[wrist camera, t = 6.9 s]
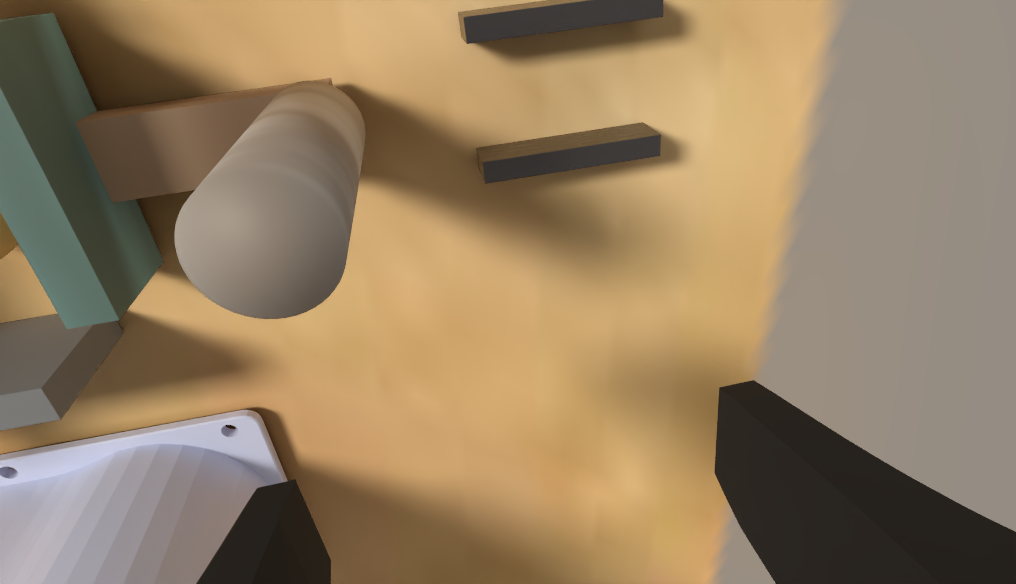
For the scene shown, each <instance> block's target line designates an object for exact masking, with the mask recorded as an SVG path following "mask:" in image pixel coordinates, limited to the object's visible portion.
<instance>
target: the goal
mask: <svg viewBox="0 0 1016 584" xmlns="http://www.w3.org/2000/svg"><path fill="white" fill-rule="evenodd" d="M122 334H123V331H122V329H121V327H120V326H119V324H118V322H117V321H112V322H106V323H100V324H94V325H88V326H82V327H76V328H71V329H67V328H66V327H65V325H64V323H63V321H62V320H61V318H60V316H59V314H53V315H48V316H42V317H36V318H30V319H24V320H18V321H12V322H6V323H0V431H1V430H7V429H12V428H18V427H23V426H29V425H34V424H40V423H45V422H51V421H56V420H61V419H62V417H63V416H64V415H65V413H66V412H67V410H68V409H69V408H70V406H71V405H72V403H73V402H74V401H75V399H76V398H77V397H78V395H79V394H80V392H81V391H82V390H83V388H84V387H85V385H86V384H87V383H88V381H89V380H90V378H91V377H92V376H93V374H94V373H95V372H96V370H97V369H98V367H99V366H100V365H101V363H102V362H103V360H104V359H105V358H106V356H107V355H108V353H109V352H110V351H111V349H112V348H113V347H114V345H115V344H116V342H117V341H118V340H119V338H120V337H121V335H122Z"/></svg>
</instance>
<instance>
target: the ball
mask: <svg viewBox="0 0 1016 584" xmlns="http://www.w3.org/2000/svg"><path fill="white" fill-rule="evenodd" d="M17 244H18V242H17V241H16V239H15V237H14V235H13V234H12V232H11V230H10V228H9V226H8V225H7V223H6V221H5V219H4V218H3V216H2V214H1V212H0V259H2V258H3V257H5V256H6V255H7V254H8V253H9V252H10V251H11V250H13V249H14V247H15V246H16V245H17Z"/></svg>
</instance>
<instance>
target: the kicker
mask: <svg viewBox="0 0 1016 584" xmlns="http://www.w3.org/2000/svg"><path fill="white" fill-rule="evenodd" d="M365 141H366V128H365V123H364V120H363V117H362V114H361V112H360V110H359V109H358V107H357V105H356V104H355V103H354V102H353V100H352V99H351V98H350V97H349V96H348V95H346V94H345V93H344V92H343V91H341V90H340V89H338V88H336V87H334V86H333V85H332V80H331V78H328V79H321V80H314V81H302V82H297V83H293V84H286V85H279V86H271V87H264V88H257V89H250V90H243V91H236V92H229V93H221V94H214V95H207V96H200V97H193V98H186V99H179V100H172V101H164V102H157V103H150V104H143V105H136V106H129V107H122V108H115V109H107V110H100V111H97V110H96V108H95V105H94V103H93V101H92V99H91V96H90V94H89V92H88V90H87V87H86V85H85V83H84V81H83V78H82V76H81V74H80V71H79V69H78V67H77V65H76V62H75V60H74V58H73V56H72V53H71V51H70V49H69V47H68V44H67V42H66V40H65V38H64V35H63V33H62V31H61V29H60V26H59V24H58V22H57V20H56V17H55V15H54V13H46V14H38V15H31V16H23V17H15V18H7V19H0V212H1V214H2V216H3V218H4V219H5V221H6V223H7V225H8V226H9V228H10V230H11V232H12V234H13V235H14V237H15V239H16V241H17V242H18V244H19V246H20V248H21V249H22V251H23V253H24V255H25V256H26V258H27V260H28V262H29V263H30V265H31V267H32V269H33V270H34V272H35V274H36V276H37V277H38V279H39V281H40V283H41V284H42V286H43V288H44V290H45V292H46V293H47V295H48V297H49V299H50V300H51V302H52V304H53V306H54V307H55V309H56V311H57V313H58V314H59V316H60V318H61V320H62V321H63V323H64V325H65V327H66V328H67V329H71V328H76V327H82V326H88V325H94V324H100V323H106V322H112V321H118V320H120V319H121V317H122V316H123V315H124V313H125V312H126V311H127V309H128V308H129V307H130V305H131V304H132V303H133V302H134V300H135V299H136V298H137V296H138V295H139V294H140V292H141V291H142V290H143V288H144V287H145V286H146V284H147V283H148V282H149V280H150V279H151V278H152V276H153V275H154V274H155V272H156V271H157V270H158V268H159V267H160V266H161V264H162V263H163V262H164V261H163V259H162V257H161V254H160V252H159V250H158V248H157V245H156V243H155V241H154V239H153V236H152V234H151V232H150V230H149V227H148V225H147V223H146V221H145V218H144V216H143V214H142V212H141V209H140V207H139V205H138V203H137V200H136V199H140V198H147V197H153V196H160V195H166V194H173V193H179V192H186V191H192V190H195V191H194V192H193V193H192V194H191V195H190V197H189V198H188V199H187V201H186V202H185V203H184V205H183V206H182V208H181V210H180V212H179V215H178V218H177V221H176V225H175V233H174V237H175V248H176V253H177V256H178V259H179V262H180V264H181V266H182V268H183V270H184V272H185V274H186V275H187V277H188V278H189V280H190V281H191V282H192V283H193V284H194V286H195V287H196V288H197V289H198V290H199V291H200V292H201V293H202V294H204V295H205V296H206V297H207V298H209V299H210V300H211V301H213V302H214V303H216V304H218V305H220V306H221V307H223V308H225V309H227V310H230V311H232V312H234V313H238V314H241V315H244V316H249V317H254V318H262V319H279V318H287V317H291V316H296V315H299V314H301V313H304V312H307V311H309V310H311V309H313V308H315V307H316V306H317V305H319V304H320V303H322V302H323V301H324V300H325V299H326V298H328V297H329V296H330V294H331V293H332V292H333V291H334V290H335V288H336V287H337V285H338V284H339V282H340V280H341V278H342V275H343V273H344V269H345V265H346V259H347V253H348V247H349V241H350V234H351V228H352V222H353V216H354V210H355V203H356V197H357V191H358V185H359V179H360V172H361V166H362V160H363V154H364V147H365Z"/></svg>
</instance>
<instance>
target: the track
mask: <svg viewBox="0 0 1016 584" xmlns="http://www.w3.org/2000/svg"><path fill="white" fill-rule="evenodd" d="M458 15H459V23H460V30H461V37H462V38H463V40H464V41H465V42H466V43H467V44H469V43H476V42H484V41H491V40H498V39H505V38H513V37H520V36H527V35H534V34H541V33H549V32H556V31H563V30H570V29H578V28H585V27H592V26H599V25H607V24H614V23H621V22H628V21H636V20H643V19H650V18H657V17H663V0H547V1H540V2H532V3H525V4H517V5H510V6H502V7H495V8H487V9H480V10H472V11H465V12H458ZM477 156H478V163H479V169H480V171H481V174H482V176H483V179H484V182H485V184H486V183H492V182H498V181H504V180H511V179H517V178H523V177H530V176H536V175H542V174H549V173H555V172H561V171H567V170H574V169H580V168H586V167H593V166H599V165H605V164H611V163H618V162H624V161H630V160H637V159H643V158H649V157H655V156H660V134H659V133H657V132H656V131H654V130H653V129H651V128H650V127H648V126H647V125H645V124H644V123H637V124H630V125H624V126H617V127H611V128H604V129H598V130H591V131H585V132H578V133H572V134H565V135H559V136H552V137H545V138H539V139H532V140H526V141H519V142H513V143H506V144H500V145H493V146H487V147H480V148H477Z"/></svg>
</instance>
